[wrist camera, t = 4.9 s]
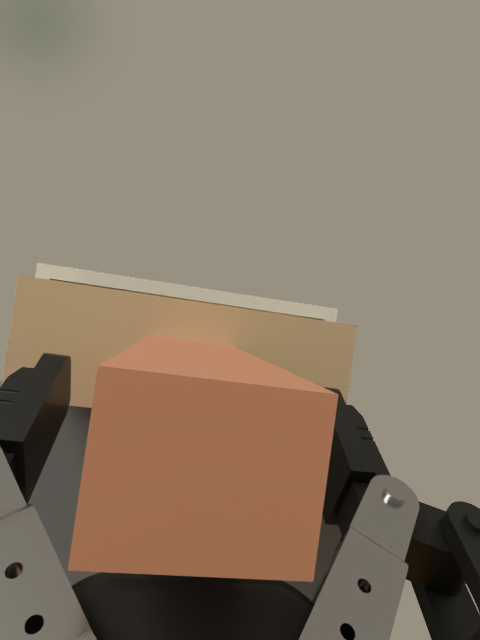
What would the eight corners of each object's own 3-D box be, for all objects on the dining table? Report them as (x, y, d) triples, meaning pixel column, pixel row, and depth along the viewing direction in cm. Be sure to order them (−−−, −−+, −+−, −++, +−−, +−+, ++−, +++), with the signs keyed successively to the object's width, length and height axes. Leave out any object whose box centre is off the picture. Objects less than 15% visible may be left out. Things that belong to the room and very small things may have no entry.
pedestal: (-146, 1116, 17) (-33, 393, 18) (-1, 757, 31) (59, 361, 31) (276, 1058, 20) (359, 434, 20) (234, 752, 33) (285, 388, 34)
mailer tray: (-410, 580, 4) (-338, 173, 4) (85, 360, 26) (95, 297, 26) (607, 616, 6) (641, 334, 6) (266, 382, 28) (274, 323, 28)
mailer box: (16, 398, 18) (37, 262, 18) (86, 364, 32) (97, 287, 32) (321, 430, 20) (337, 309, 20) (261, 385, 34) (271, 313, 34)
